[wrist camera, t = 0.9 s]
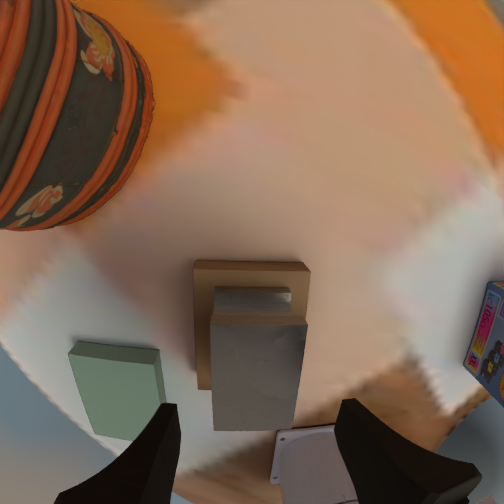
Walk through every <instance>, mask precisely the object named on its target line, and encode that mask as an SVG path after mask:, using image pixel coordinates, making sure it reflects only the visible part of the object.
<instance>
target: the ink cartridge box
mask: <svg viewBox="0 0 504 504" xmlns="http://www.w3.org/2000/svg"><path fill="white" fill-rule="evenodd" d="M463 366H464V367H465V368H466V370H468V371H469V372H470V373H471V374H472V375H473V376H474V377H475V378H476V379H477V380H478V381H479V383H480V384H482V386H483V387H484V388H485V389H486V390H487V391H488V392H489V393H490V394H491V395H492V396H493V397H494V398H495V399H496V400H497V401H498V402H499V403H500V404H501V405H502V406H503V407H504V282H489V283H488V286H487V290H486V295H485V299H484V302H483V306H482V310H481V313H480V317H479V320H478V323H477V327H476V330H475V333H474V336H473V339H472V342H471V345H470V347H469V350H468V353H467V356H466V358H465V361H464V364H463Z"/></svg>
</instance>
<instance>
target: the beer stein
mask: <svg viewBox="0 0 504 504" xmlns="http://www.w3.org/2000/svg"><path fill="white" fill-rule="evenodd" d="M154 106H155V100H154V98H153V91H152V82H151V76H150V72H149V70H148V67H147V65H146V63H145V61H144V60H143V58H142V56H141V55H140V54H139V53H138V52H137V51H136V50H135V49H134V48H133V46H132V45H131V44H130V43H129V42H128V41H127V40H125V39H124V38H123V37H122V36H121V35H120V33H119V32H118V31H117V30H116V29H115V28H114V27H113V26H112V25H111V24H110V23H108V22H107V21H106V20H104V19H102V18H100V17H99V16H97V15H95V14H93V13H90V12H88V11H85V10H82V9H80V8H79V7H77V6H76V5H74V4H73V3H72V2H70V1H69V0H0V230H4V229H7V230H11V231H32V230H43V229H49V228H53V227H55V226H61V225H66V224H71V223H74V222H77V221H79V220H82V219H84V218H85V217H87V216H89V215H90V214H92V213H93V212H95V211H96V210H97V209H99V208H100V207H101V206H102V205H104V204H105V203H106V202H107V201H108V200H109V199H111V198H112V197H113V196H114V195H115V194H116V193H117V192H118V191H119V190H120V189H121V187H122V186H123V184H124V182H125V181H126V180H127V178H128V176H129V175H130V173H131V172H132V170H133V168H134V166H135V164H136V162H137V160H138V159H139V157H140V155H141V151H142V147H143V145H144V142H145V140H146V138H147V137H148V136H147V135H148V132H149V127H150V124H151V122H152V118H153V117H152V115H153V114H152V111H153V109H154Z"/></svg>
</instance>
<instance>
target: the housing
mask: <svg viewBox="0 0 504 504" xmlns="http://www.w3.org/2000/svg"><path fill="white" fill-rule="evenodd" d="M307 327H308V324H307V322H306V320H305V318H304V316H303V315H295V313H294V311H293V309H292V306H291V291H290V289H289V287H241V286H215V290H214V310H213V315H211V321H210V347H211V381H212V405H213V425H214V431H261V430H282V429H291V428H292V423H293V417H294V412H295V406H296V400H297V394H298V388H299V382H300V376H301V369H302V363H303V356H304V349H305V342H306V335H307Z"/></svg>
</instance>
